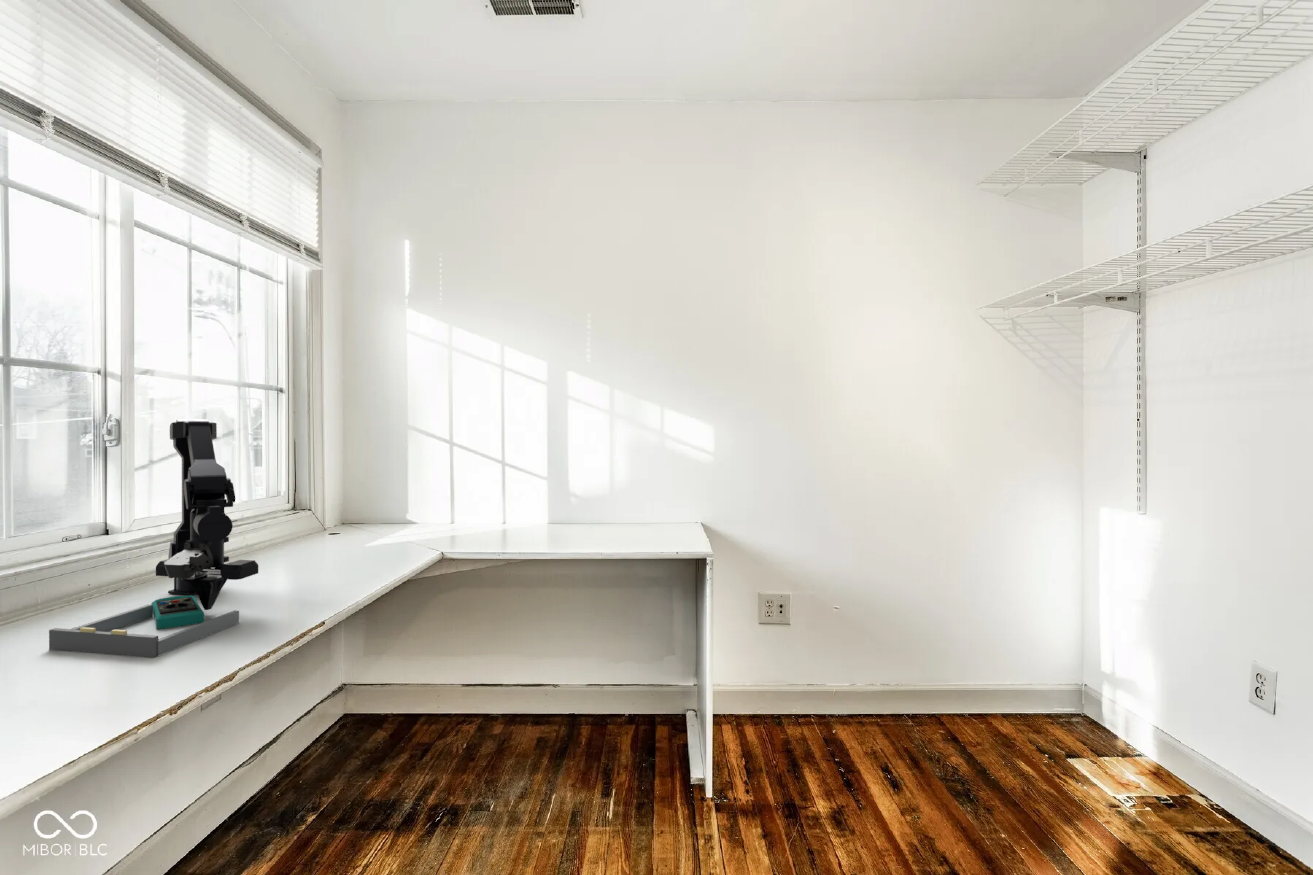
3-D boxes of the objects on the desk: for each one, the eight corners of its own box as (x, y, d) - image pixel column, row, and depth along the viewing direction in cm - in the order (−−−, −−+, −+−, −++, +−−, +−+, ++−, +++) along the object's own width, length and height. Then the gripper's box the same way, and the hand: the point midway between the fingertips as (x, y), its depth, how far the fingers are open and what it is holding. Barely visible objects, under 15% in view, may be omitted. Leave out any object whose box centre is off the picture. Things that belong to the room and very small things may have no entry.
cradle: (49, 649, 115) (49, 626, 115) (148, 616, 134) (148, 596, 134) (153, 657, 112) (153, 634, 112) (239, 622, 132) (239, 602, 132)
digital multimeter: (195, 606, 143) (195, 592, 143) (204, 625, 131) (204, 609, 131) (150, 613, 138) (150, 598, 138) (156, 632, 126) (156, 616, 126)
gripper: (130, 539, 129) (131, 619, 129) (218, 543, 127) (219, 624, 127) (178, 529, 140) (178, 602, 140) (260, 533, 138) (260, 607, 138)
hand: (207, 609), depth 136 cm, fingers closed
